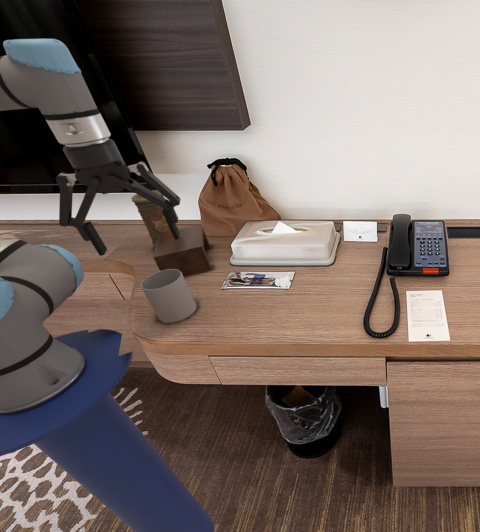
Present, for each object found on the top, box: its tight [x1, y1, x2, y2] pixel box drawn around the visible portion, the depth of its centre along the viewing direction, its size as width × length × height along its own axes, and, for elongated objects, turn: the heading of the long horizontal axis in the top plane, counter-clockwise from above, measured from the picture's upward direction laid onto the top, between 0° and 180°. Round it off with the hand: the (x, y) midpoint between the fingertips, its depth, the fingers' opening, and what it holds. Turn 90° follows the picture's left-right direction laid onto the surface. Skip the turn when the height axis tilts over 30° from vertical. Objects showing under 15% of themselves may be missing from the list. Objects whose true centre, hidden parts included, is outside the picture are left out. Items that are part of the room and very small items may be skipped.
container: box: [131, 189, 179, 250], centre depth 109 cm, size 9×9×18 cm
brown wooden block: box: [152, 224, 212, 278], centre depth 103 cm, size 12×16×8 cm
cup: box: [140, 269, 197, 324], centre depth 83 cm, size 8×8×10 cm
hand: (141, 244), depth 73 cm, fingers open, 13 cm apart
